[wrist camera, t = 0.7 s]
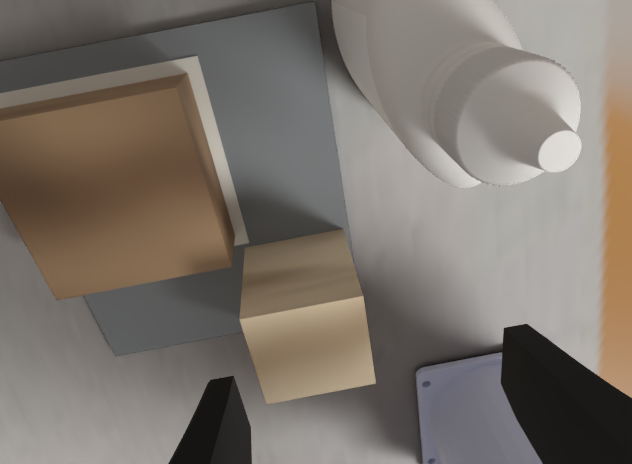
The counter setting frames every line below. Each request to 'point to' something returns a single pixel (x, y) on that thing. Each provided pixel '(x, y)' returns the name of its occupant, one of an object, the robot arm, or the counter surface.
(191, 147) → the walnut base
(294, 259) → the beech block
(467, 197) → the counter surface
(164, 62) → the slate mat
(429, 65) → the eye dropper bottle
